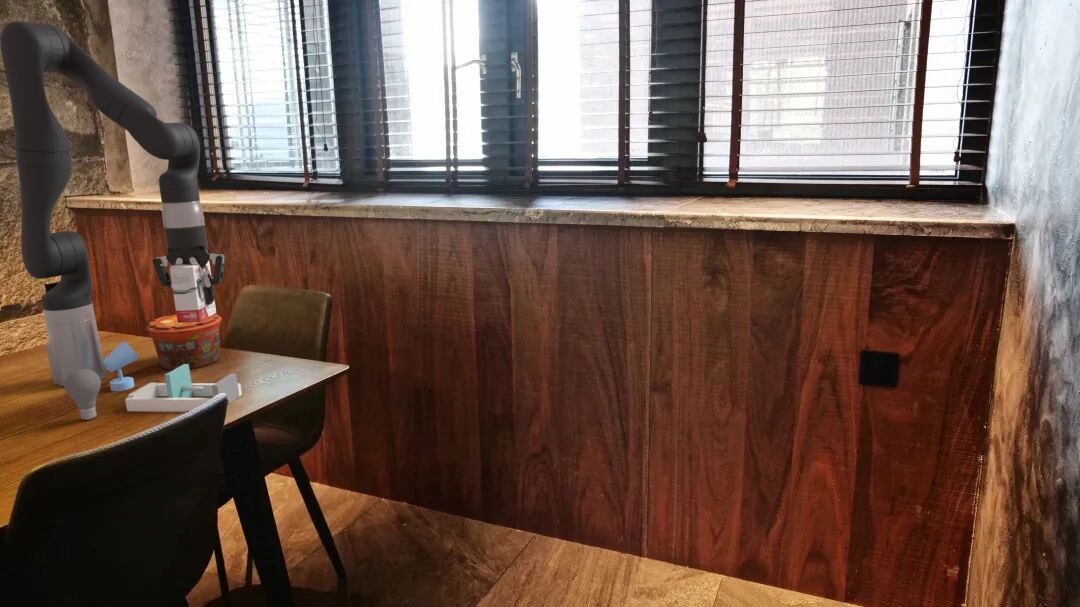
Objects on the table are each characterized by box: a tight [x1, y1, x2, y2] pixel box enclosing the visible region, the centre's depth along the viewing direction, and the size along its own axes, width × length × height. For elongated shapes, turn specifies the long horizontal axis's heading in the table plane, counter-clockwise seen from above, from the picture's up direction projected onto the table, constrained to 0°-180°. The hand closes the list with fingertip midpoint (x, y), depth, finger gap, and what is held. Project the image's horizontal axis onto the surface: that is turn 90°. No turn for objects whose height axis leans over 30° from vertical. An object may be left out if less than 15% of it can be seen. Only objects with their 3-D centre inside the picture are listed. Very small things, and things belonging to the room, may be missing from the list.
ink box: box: [169, 260, 217, 323], centre depth 152 cm, size 9×5×12 cm, turn 2°
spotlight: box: [102, 340, 140, 392], centre depth 157 cm, size 5×10×7 cm
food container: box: [146, 312, 223, 371], centre depth 173 cm, size 16×16×11 cm
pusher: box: [164, 364, 203, 398], centre depth 146 cm, size 5×7×7 cm
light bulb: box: [63, 369, 102, 421], centre depth 140 cm, size 6×6×10 cm
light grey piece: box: [124, 372, 243, 413], centre depth 147 cm, size 19×9×5 cm, turn 84°
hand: (195, 304), depth 153 cm, fingers closed on ink box, 5 cm apart
